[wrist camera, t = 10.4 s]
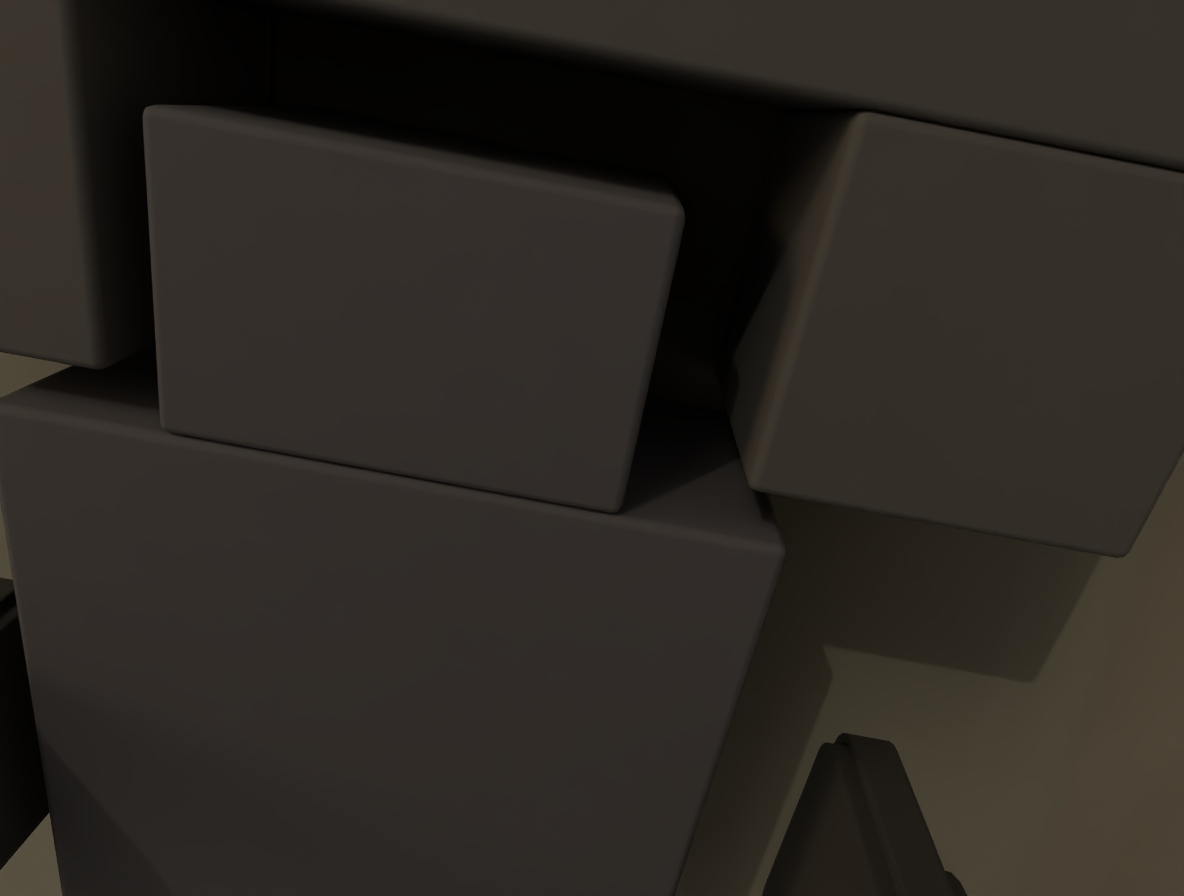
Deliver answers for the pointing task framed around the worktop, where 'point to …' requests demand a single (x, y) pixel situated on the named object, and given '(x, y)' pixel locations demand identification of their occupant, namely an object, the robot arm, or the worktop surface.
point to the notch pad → (755, 222)
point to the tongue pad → (382, 531)
